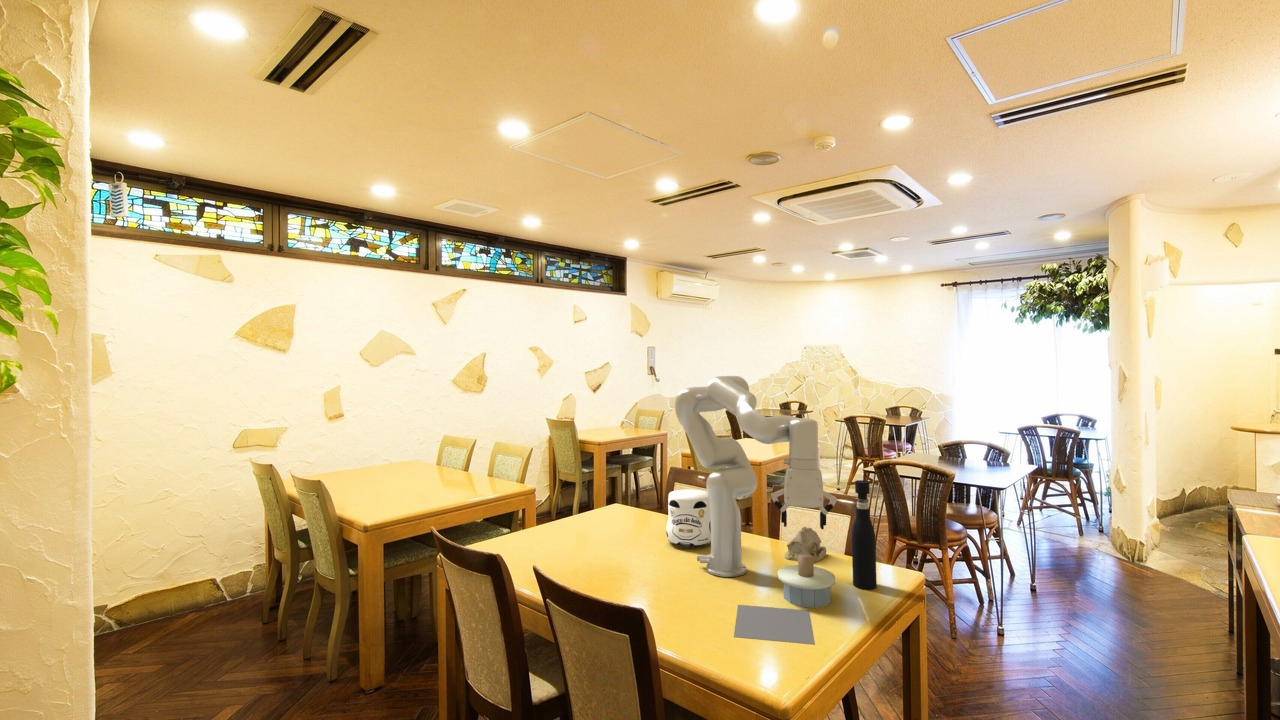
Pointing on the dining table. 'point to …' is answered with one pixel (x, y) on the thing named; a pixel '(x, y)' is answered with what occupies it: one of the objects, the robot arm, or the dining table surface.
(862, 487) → the black water bottle
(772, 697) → the dining table surface
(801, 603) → the bowl
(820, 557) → the ceramic model
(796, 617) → the mat
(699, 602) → the dining table surface
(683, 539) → the milk container
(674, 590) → the dining table surface
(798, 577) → the lid
